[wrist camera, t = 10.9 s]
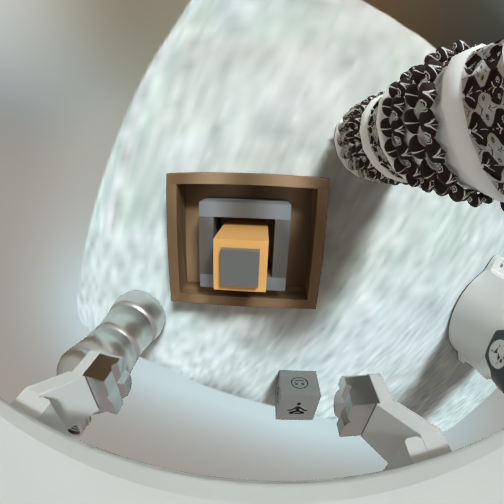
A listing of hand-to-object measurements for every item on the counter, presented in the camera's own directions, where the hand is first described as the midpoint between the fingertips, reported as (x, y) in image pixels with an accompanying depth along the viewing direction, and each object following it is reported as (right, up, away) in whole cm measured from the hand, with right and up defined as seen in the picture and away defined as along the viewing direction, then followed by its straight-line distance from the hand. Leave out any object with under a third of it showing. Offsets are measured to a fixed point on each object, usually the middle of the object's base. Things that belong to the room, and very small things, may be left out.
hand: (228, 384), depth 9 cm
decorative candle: (+14, +17, +17) cm, 28 cm away
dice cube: (+7, -14, +27) cm, 31 cm away
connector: (0, +6, +20) cm, 21 cm away
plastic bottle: (-13, -2, +24) cm, 27 cm away
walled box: (0, +7, +21) cm, 22 cm away
